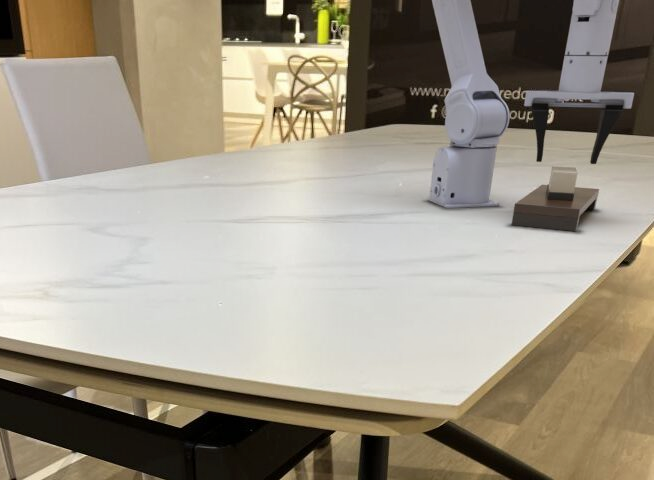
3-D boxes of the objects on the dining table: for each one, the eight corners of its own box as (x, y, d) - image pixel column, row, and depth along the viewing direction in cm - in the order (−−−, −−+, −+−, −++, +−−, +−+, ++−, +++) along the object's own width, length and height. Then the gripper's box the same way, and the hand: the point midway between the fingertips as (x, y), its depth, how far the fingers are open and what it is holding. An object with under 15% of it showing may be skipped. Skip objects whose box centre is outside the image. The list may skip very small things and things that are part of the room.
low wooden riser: (575, 231, 105) (579, 209, 103) (511, 225, 109) (514, 203, 107) (595, 208, 120) (599, 188, 119) (538, 203, 124) (541, 184, 122)
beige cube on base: (573, 200, 109) (578, 172, 107) (547, 199, 110) (552, 171, 108) (570, 192, 116) (575, 165, 114) (546, 191, 116) (551, 164, 115)
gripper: (638, 56, 105) (614, 160, 112) (531, 55, 108) (515, 156, 115) (644, 56, 99) (619, 166, 106) (532, 55, 102) (515, 162, 110)
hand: (565, 162), depth 110 cm, fingers open, 7 cm apart
